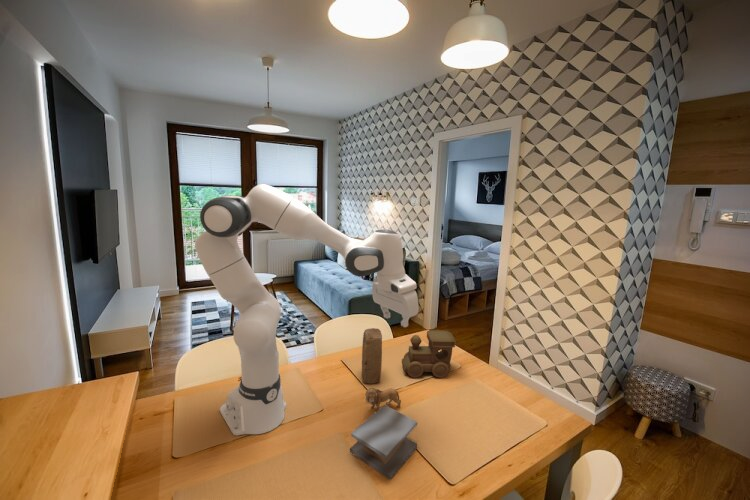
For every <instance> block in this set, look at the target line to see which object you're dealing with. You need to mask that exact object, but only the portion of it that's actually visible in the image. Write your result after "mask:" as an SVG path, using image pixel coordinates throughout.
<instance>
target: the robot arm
mask: <svg viewBox="0 0 750 500" xmlns="http://www.w3.org/2000/svg"><path fill="white" fill-rule="evenodd" d="M199 218H200V219H199V221H200V224H201V226H202V228H204V230H205V231H204V232H203V233H201V234H199V236H198V237H196V240H195V242H194V246H195V247H194V248H195V251H196V254H197V256H198V259H199V260H200V263H201V265H202V266H203V269H204V271H205V273H206V274H207V276H208V277H209V279H210V281H211V283H212V284H213V285H214V287H215V288H216V290H217V292H218V294H219V295H220V297H221V298H222V299H223V300H225V301H228V302H229V303H230V304H231V305H232V306H234V308H235V309H236V310H237V311H238V313H239V314H240V316H239V317H238V319H237V320H236V322H235V324H234V329H233V340H234V343H235V345H236V346H237V348H238V351H239V355H240V362H241V363H240V366H241V376H239V377H238V378H237V379H238V380H237V381H238V382H239V385H238V386H237V387H235V388H234V389H232V390H231V391H230V392H229V393H228V395H227V401H225V403H223V404H222V405H221V406H220V407H219V412H220V415H221V416H222V418H223V420H224V422H225V423H226V424H227V426H228V428H229V430H230V431H231V433H232V434H233V436H241V435H242V436H243V435H262V434H265V433H269V432H271V431H272V430H275V429H276V428H278V427H279V426H280V425H281V424H282V422H283V421H284V418H285V409H286V408H287V401H285V400H284V399H285V398H284V391H283V386H282V385H281V383H282V382H281V381H282V380H281V375H280V356H279V355H280V354H279V351H278V347H277V328H278V326H279V322H280V319H281V316H282V311H281V304H280V302H279V301H278V299H277V298H276V297H275V296H272V294H271V293H270V292H269V290H268V289H267V288H266V287H265V286H264V284H262V283H261V281H260V279H258V277H257V274H255V272H254V270H253V269H252V267H251V265H250V263H249V262H248V259H247V258H246V257H245V255H244V253H243V252H242V249H241V248H240V246H239V244H238V237H240V236H241V235H243V234H244V233H245V232H246V231H247V230H248V229H249V228H250V227H251V226H252V225H253V224H254V223H260V224H262V225H265V226H267V227H268V228H269V229H271V230H273V231H275V232H277V233H279V234H281V235H282V236H285V237H287V238H290V239H293V240H295V241H301V240H303V241H305V240H311V241H315V242H318V243H320V244H322V245H324V246H325V247H328V248H330V249H331V250H333V251H335V252H337V253H338V254H340V255H341V256H342V258H343V259H344V263H345V267H346V269H347V271H348V272H349V273H350V274H351V275H353V276H355V277H367V276H370V275H372V274H375V273H376V276H375V277H374V278H373V283H372V285H371V287H372V290H371V291H372V292H371V293H372V299H373V302H374V303H375V304H378V305H380V309H381V312H382V313H383V318H384V319H390V318H391V312H390V311H389V310H391V311H394V312H396V313H397V314H400V315H401V317H402V320H401V321H400V326H401V327H403V328H407V327H409V321H410V318H412V317H414V316H415V317H416V316H417V315H418V313H419V311H420V309H419V299H418V293H417V291H416V289H417V288H418V286H417V283H416V281H415V280H413V279H412V278H411V277H410V276H409V275H408V274H406V270H405V267H404V262H403V261H404V251H403V249H404V248H403V243H402V239H401V237H400V234H399V233H398V232H396V231H394V230H391V229H377V230H374V232H373V233H372V234H371V235H370V236H368V237H367V238H361V237H353V236H350V235H348V234H346V233H343V232H342V231H340V230H338V229H337V228H336V227H334V226H331V225H330V224H328V223H327V222H325V221H324V220H323V219H321V217H320V216H319V215H317V214H316V213H315V211H313V210H312V209H310V207H308V206H307V205H306V204H304V203H303V202H302V201H301V200H299V199H298V198H296V197H294V196H292V195H290V194H289V193H287V192H285V191H284V190H281V189H279V188H277V187H275V186H271V185H269V184H265V183H259V184H257V185H255V186H254V187H252V188H251V189H250V191H249V192H248V194H247V195H246V196H242V195H237V194H235V195H234V194H230V195H229V194H227V195H222V196H219V197H215V198H212V199H210V200H208V201H207V202H206V203H205V204H204V205H203V207H202V209H201V210H200V214H199Z"/></svg>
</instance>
